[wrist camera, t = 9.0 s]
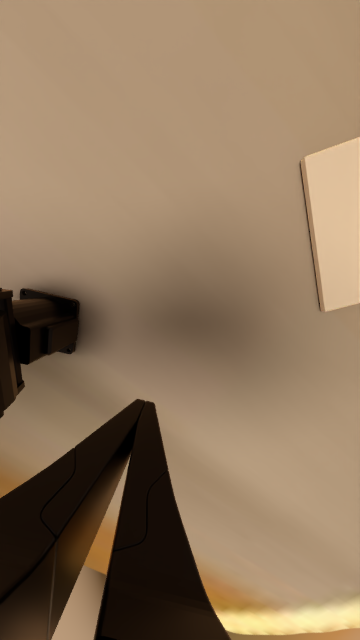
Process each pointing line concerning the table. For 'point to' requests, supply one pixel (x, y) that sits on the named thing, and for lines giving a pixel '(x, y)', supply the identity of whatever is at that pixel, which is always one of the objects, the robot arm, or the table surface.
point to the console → (335, 221)
